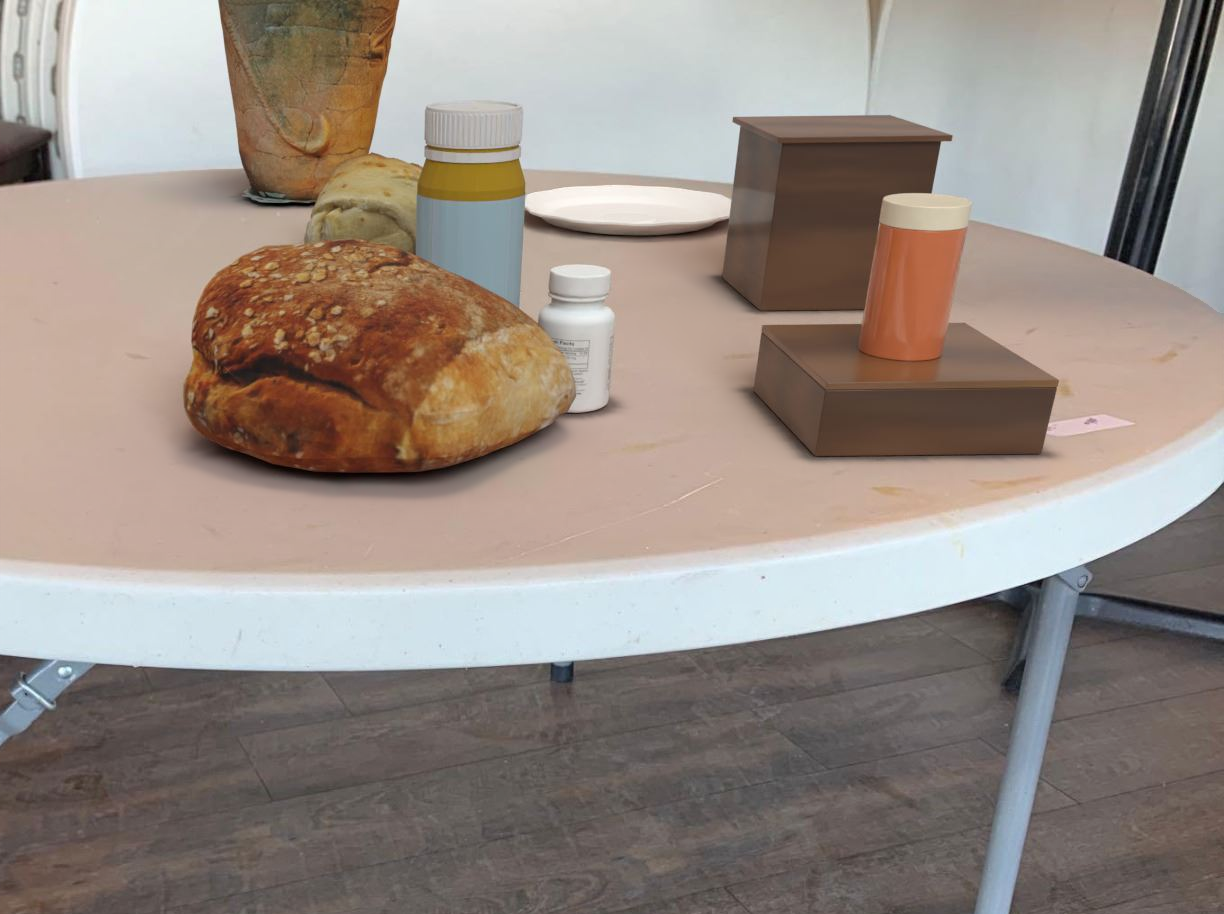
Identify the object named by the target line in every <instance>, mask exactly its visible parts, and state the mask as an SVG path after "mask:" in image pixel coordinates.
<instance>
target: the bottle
mask: <svg viewBox="0 0 1224 914" xmlns="http://www.w3.org/2000/svg"><path fill="white" fill-rule="evenodd" d="M523 122H524V108H523V105H522V104H521V103H517V102H511V101H500V100H499V101H497V100H451V101H438V102H433V103H428V104H426V105H425V109H424V134H423V135H424V136H423V137H424V138H423V139H424V142H425V144H426V145H424V150H423V151H424V154H423V156H424V158H425V160H424V163H423V166H422V167H423V169H422V172H421V174H420V177H419V180H418V183H417V207H416V256H419V257H421V258H423V259H425V260H427V261H429V262H431V263H433V264H435V265H437V266H439V267H441V268H443V269H445V270H447V271H449V272H452V273H454V274H456V275H459V276H461V277H463V278H466V279H468V280H470V281H473V282H474V283H476V284H478V285H480V286H482V287H483V288H485V289H487V290H489V291H491V292H493V293H495V294H497V295H499V296H501V297H502V298H504V299H506V300H507V301H509V302H511V303H512V304H514V305H515V306H517V307H518V308H519V309H520V305H521V304H520V302H521V286H522V284H521V283H522V267H523V265H522V264H523V249H524V248H523V247H524V228H525V211H526V210H525V196H526V179H525V176H524V173H523V169H522V164H521V162H520V158H521V156H522V146H521V145H520V144H521V141H523V125H524V124H523Z"/></svg>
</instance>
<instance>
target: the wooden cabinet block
mask: <svg viewBox="0 0 1224 914" xmlns="http://www.w3.org/2000/svg"><path fill="white" fill-rule="evenodd" d="M732 123H734V124H736V125H737V126H739V135H738V143H737V151H736V158H735V159H736V160H735V168H734V174H733V175H734V176H733V184H732V193H731V199H732V200H731V208H730V216H729V219H728V225H727V232H726V242H725V249H724V251H725V252H724V258H723V267H722V268H723V269H722V273H721V274H722V275H721V279H723V280H724V281H725V282H727V284H729V285H730V286H731V287H732V288H733V289H735V290H736V292H738V294H740V295H741V296H742V297H744V298H745V299H746V300H747V301H748V302H750V303H751V305H753V306H754V307H756V309H757V310H759V311H760V312H761V311H762V312H766V311H769V312H770V311H771V312H773V311H846V310H848V311H854V310H855V311H857V310H859V311H860V310H861V311H862V310H863V311H864V307H865V301H866V295H867V289H868V284H869V278H870V272H871V266H872V260H873V254H874V248H875V242H876V236H877V230H878V224H879V219H880V213H881V207H882V201H883V198H884V197H885V196H888V195H893V194H903V193H928V194H933V188H934V183H935V177H936V171H937V167H938V161H939V157H940V156H939V155H940V151H941V145H942V142H952V141H953V136H954V135H953V134H951V133H947V132H944V131H941V130H938V129H935V128H932V127H930V126H929V127H928V126H925V125H923V124H920V123H916V122H913V121H910V120H907V119H903V118H901V117H898V116H894V115H891V114H874V115H873V114H863V115H862V114H860V115H859V114H858V115H856V114H855V115H854V114H853V115H852V114H851V115H790V116H789V115H778V116H775V115H774V116H772V115H771V116H767V115H766V116H764V115H763V116H733V117H732Z"/></svg>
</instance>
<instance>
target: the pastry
mask: <svg viewBox="0 0 1224 914" xmlns="http://www.w3.org/2000/svg"><path fill="white" fill-rule="evenodd" d="M422 169H423V166H421V165H420V164H418V163H414V162H410V163H409V162H406V161H404V160H403V159H399V158H395V157H387V156H384V155H383V154H379V153H376V152H373V151H372V152H369V154H366V155H361V156H356V157H352V158H350V159H347V160H345V161H342V162H341V163H340V164H338V165H337V166H336V167H335V168H334V170H333V171H332V173H331V175H330V177H329V179H328V181H327V182H326V184H325V186H324V188H323V190H322V191H321V192H320V194H319V196H318V199H317V201H316V202H314V203H315V204H314V206H313V208H312V210H311V213H310V219H309V221H308V222H307V224H306V229H305V233H304V240H303V244H305V243H314V242H320V241H325V240H331V239H361V240H365V241H368V242H372V243H376V244H385V245H390V246H393V247H395V248H398V249H401V250H403V251H406V252H409V253H411V254H414V255H416V207H417V183H418V180H419V177H420V174H421V172H422Z"/></svg>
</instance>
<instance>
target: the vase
mask: <svg viewBox="0 0 1224 914" xmlns="http://www.w3.org/2000/svg"><path fill="white" fill-rule="evenodd" d="M217 3H218V10H219V18H220V24H221V30H222V37H223V45H224V54H225V60H226V61H225V62H226V68H227V73H228V81H229V87H230V93H231V99H232V105H233V112H234V122H235V127H236V137H237V147H238V154H239V157H240V162H241V165H242V168H243V170H244V173H245V175H246V177H247V180H248V183H249V185H250V188H248V189H245V190H243V194H242V195H241V196H242V197H246V198H251V200H252V201H257V202H259V203H277V204H278V203H279V204H280V203H281V204H283V203H284V204H285V203H305V204H310V203H316V201H317V199H318V196H319V194H320V192H321V191H322V190H323V188H324V186H325V184H326V182H327V181H328V179H329V177H330V175H331V173H332V171H333V170H334V168H335V167H336V166H337V165H338V164H340V163H341V162H342V161H345V160H347V159H350V158H352V157H356V156H361V155H366V154H370V150H371V146H372V143H373V139H374V135H375V129H376V124H377V118H378V112H379V106H380V98H381V94H382V89H383V84H384V81H385V79H386V76H387V72H388V66H389V65H388V64H389V56H390V52H391V49H392V38H393V35H394V31H395V27H396V20H397V15H398V10H399V6H400V5H399V4H400V0H217Z"/></svg>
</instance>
